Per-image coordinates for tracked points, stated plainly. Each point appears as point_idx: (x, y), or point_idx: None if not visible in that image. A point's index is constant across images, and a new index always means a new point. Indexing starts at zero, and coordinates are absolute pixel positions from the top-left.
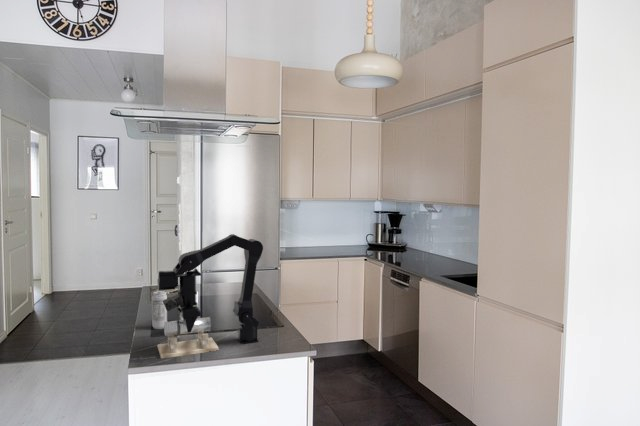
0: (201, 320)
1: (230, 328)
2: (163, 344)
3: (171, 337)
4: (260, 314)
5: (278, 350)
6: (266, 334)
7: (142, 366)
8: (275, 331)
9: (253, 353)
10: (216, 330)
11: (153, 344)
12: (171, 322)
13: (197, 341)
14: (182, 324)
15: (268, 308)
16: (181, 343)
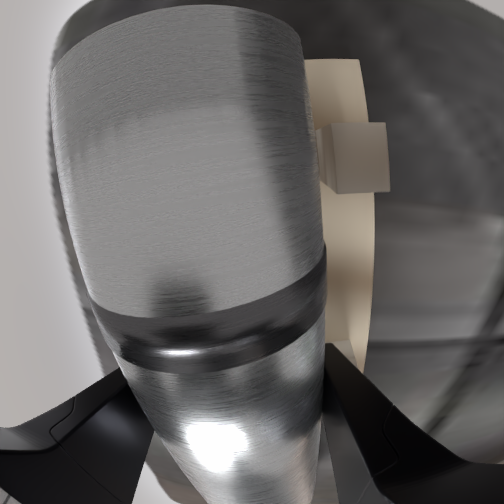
0: (210, 501)
1: (445, 429)
2: (347, 98)
3: (324, 160)
4: (480, 461)
5: (172, 482)
6: (317, 493)
7: (60, 41)
8: (331, 501)
9: (151, 450)
10: (461, 393)
11: (413, 51)
12: (85, 191)
13: (327, 336)
14: (119, 363)
15: (497, 462)
16: (327, 235)
